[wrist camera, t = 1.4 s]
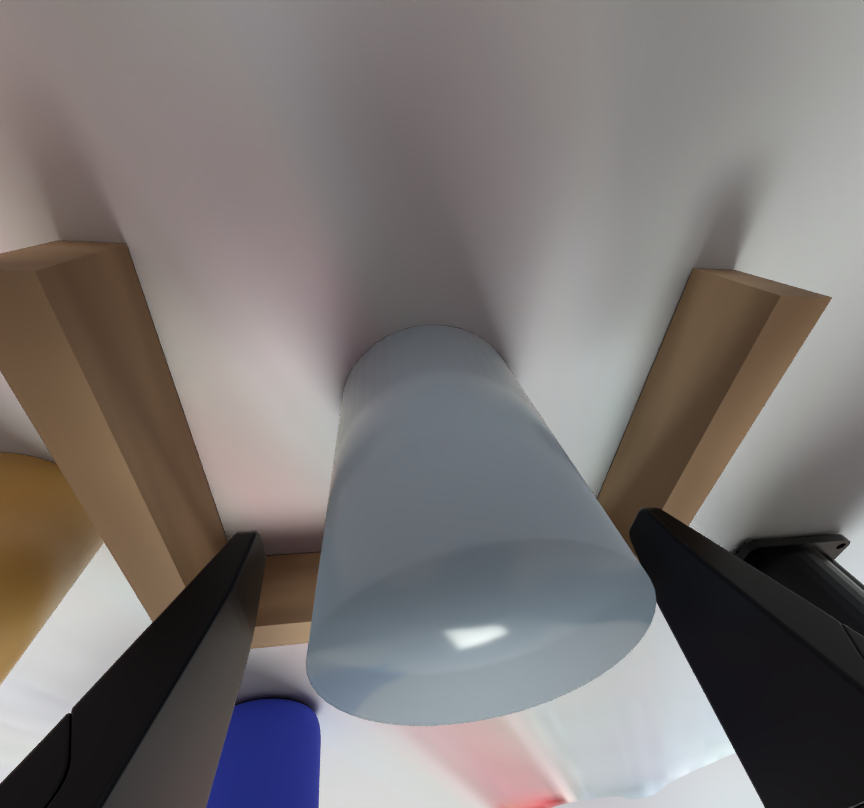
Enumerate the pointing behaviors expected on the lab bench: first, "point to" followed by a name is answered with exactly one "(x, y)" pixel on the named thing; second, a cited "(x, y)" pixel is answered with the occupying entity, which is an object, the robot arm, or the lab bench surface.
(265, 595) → the cradle
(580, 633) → the pale blue canister
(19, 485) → the reagent bottle
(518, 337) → the lab bench surface
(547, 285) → the lab bench surface
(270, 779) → the mug
